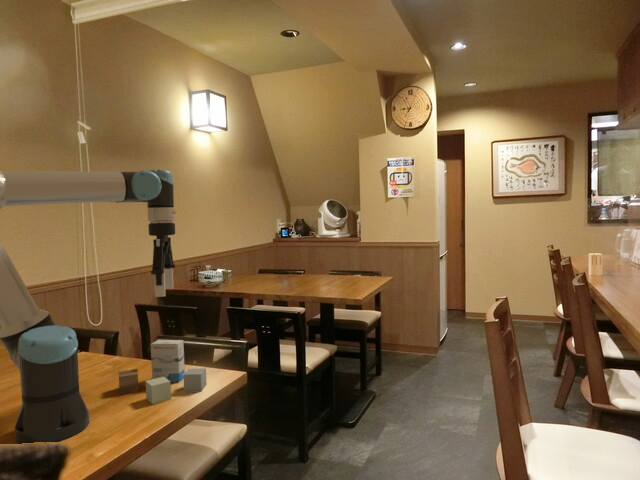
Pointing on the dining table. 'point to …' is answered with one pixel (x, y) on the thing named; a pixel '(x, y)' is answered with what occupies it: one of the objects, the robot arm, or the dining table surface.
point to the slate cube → (194, 380)
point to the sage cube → (158, 390)
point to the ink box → (168, 359)
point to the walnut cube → (128, 381)
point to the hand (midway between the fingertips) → (164, 292)
